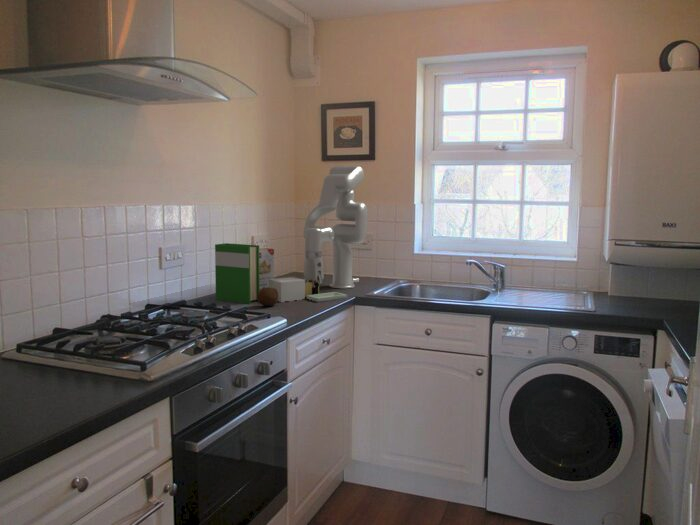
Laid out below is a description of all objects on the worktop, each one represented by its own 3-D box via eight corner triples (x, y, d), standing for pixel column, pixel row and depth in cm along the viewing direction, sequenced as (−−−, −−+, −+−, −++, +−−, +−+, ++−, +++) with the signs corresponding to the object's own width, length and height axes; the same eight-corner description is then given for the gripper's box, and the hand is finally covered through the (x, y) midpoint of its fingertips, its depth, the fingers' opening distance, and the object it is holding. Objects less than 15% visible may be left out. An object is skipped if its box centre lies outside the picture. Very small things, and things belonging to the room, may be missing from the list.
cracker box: (252, 297, 254) (252, 250, 252) (243, 295, 258) (242, 249, 255) (274, 293, 265) (274, 248, 263) (265, 291, 269) (265, 247, 266)
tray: (335, 295, 260) (335, 291, 260) (346, 298, 254) (347, 294, 253) (306, 299, 250) (306, 295, 250) (317, 302, 244) (317, 298, 244)
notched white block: (293, 295, 259) (293, 276, 257) (306, 299, 250) (306, 279, 249) (268, 298, 251) (268, 279, 250) (281, 302, 242) (281, 282, 241)
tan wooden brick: (315, 295, 261) (315, 281, 261) (319, 296, 259) (319, 282, 258) (293, 297, 254) (293, 283, 253) (296, 298, 252) (296, 284, 251)
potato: (281, 305, 236) (281, 286, 235) (268, 309, 228) (268, 289, 227) (267, 303, 240) (267, 285, 239) (253, 307, 231) (253, 288, 230)
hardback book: (259, 300, 245) (259, 245, 243) (249, 303, 239) (248, 246, 236) (226, 296, 253) (226, 243, 250) (215, 299, 247) (215, 244, 244)
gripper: (330, 256, 252) (330, 297, 255) (310, 253, 265) (309, 291, 267) (316, 257, 248) (316, 298, 250) (296, 253, 261) (296, 293, 263)
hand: (312, 294), depth 259 cm, fingers closed on tan wooden brick, 2 cm apart
